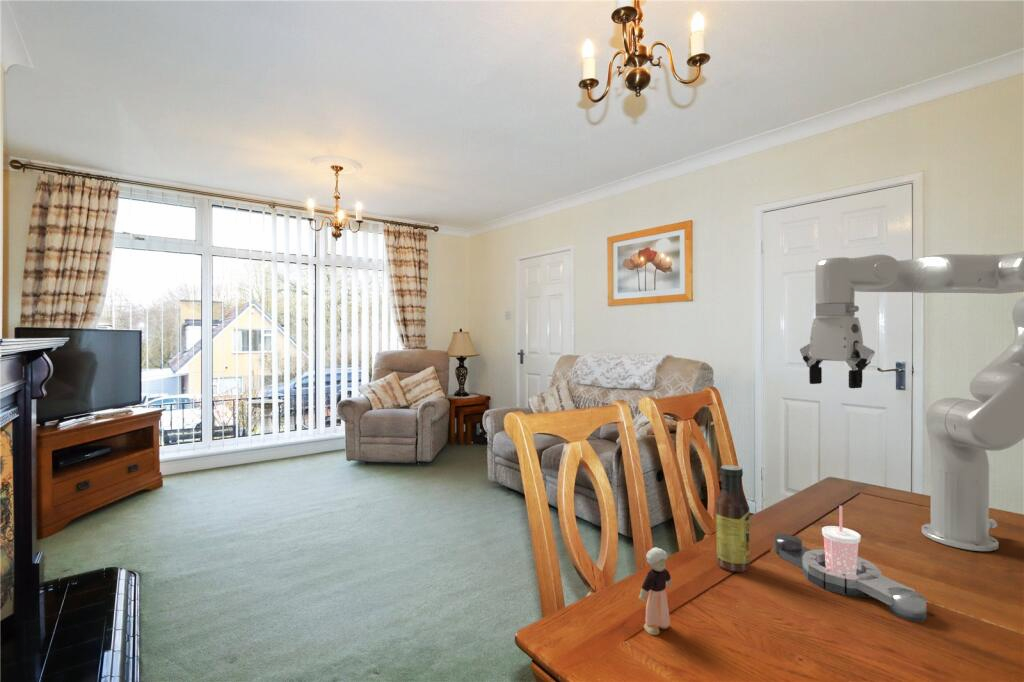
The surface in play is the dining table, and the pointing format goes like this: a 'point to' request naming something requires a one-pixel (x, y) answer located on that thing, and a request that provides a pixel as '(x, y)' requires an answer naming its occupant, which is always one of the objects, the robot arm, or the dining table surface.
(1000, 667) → the dining table surface
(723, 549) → the sauce bottle
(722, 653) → the dining table surface
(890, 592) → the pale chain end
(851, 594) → the dark grey ring piece
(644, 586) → the grandmother figurine
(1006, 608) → the dining table surface
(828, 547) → the beverage cup
